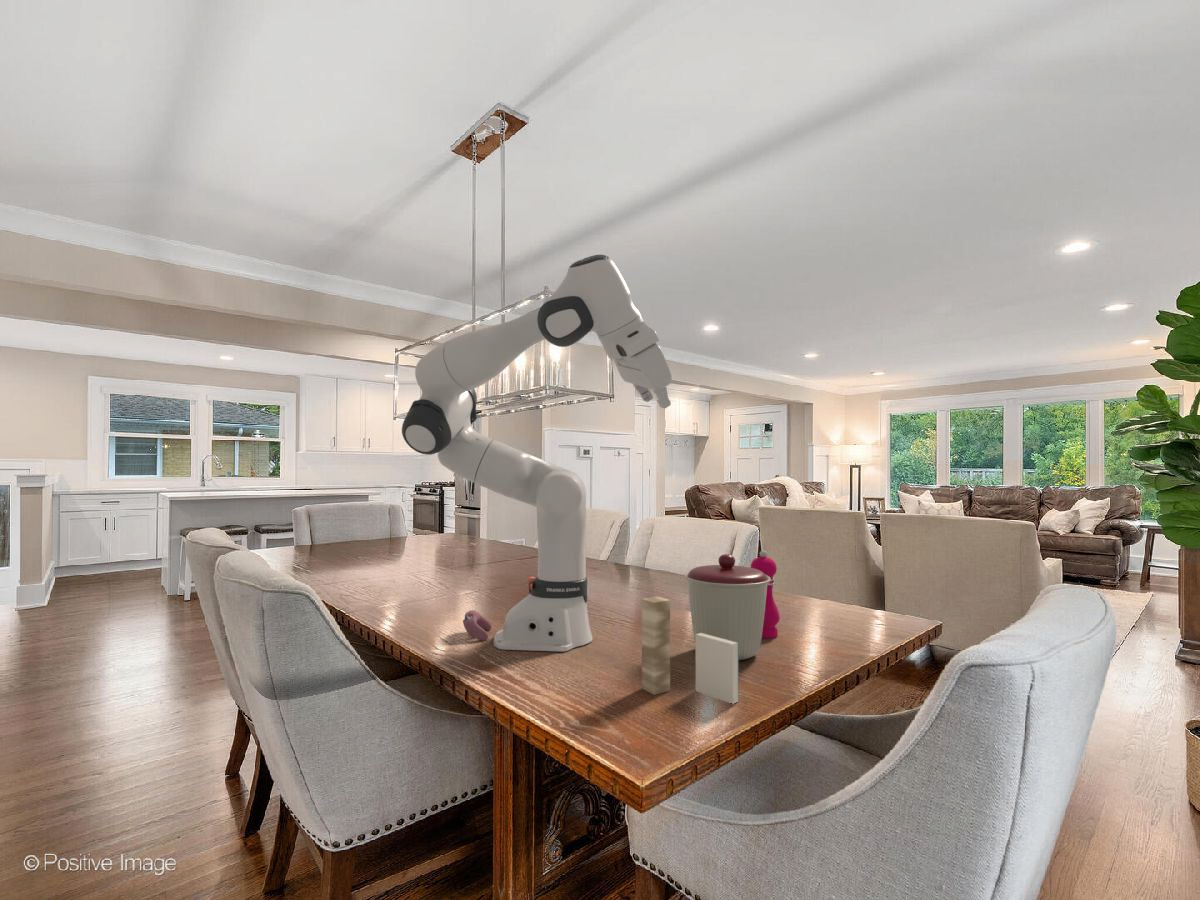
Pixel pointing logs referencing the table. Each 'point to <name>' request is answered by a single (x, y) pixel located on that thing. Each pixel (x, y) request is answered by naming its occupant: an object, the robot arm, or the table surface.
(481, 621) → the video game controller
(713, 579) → the canister
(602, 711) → the table surface
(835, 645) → the table surface
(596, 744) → the table surface
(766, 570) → the pepper mill
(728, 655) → the tile
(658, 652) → the block
